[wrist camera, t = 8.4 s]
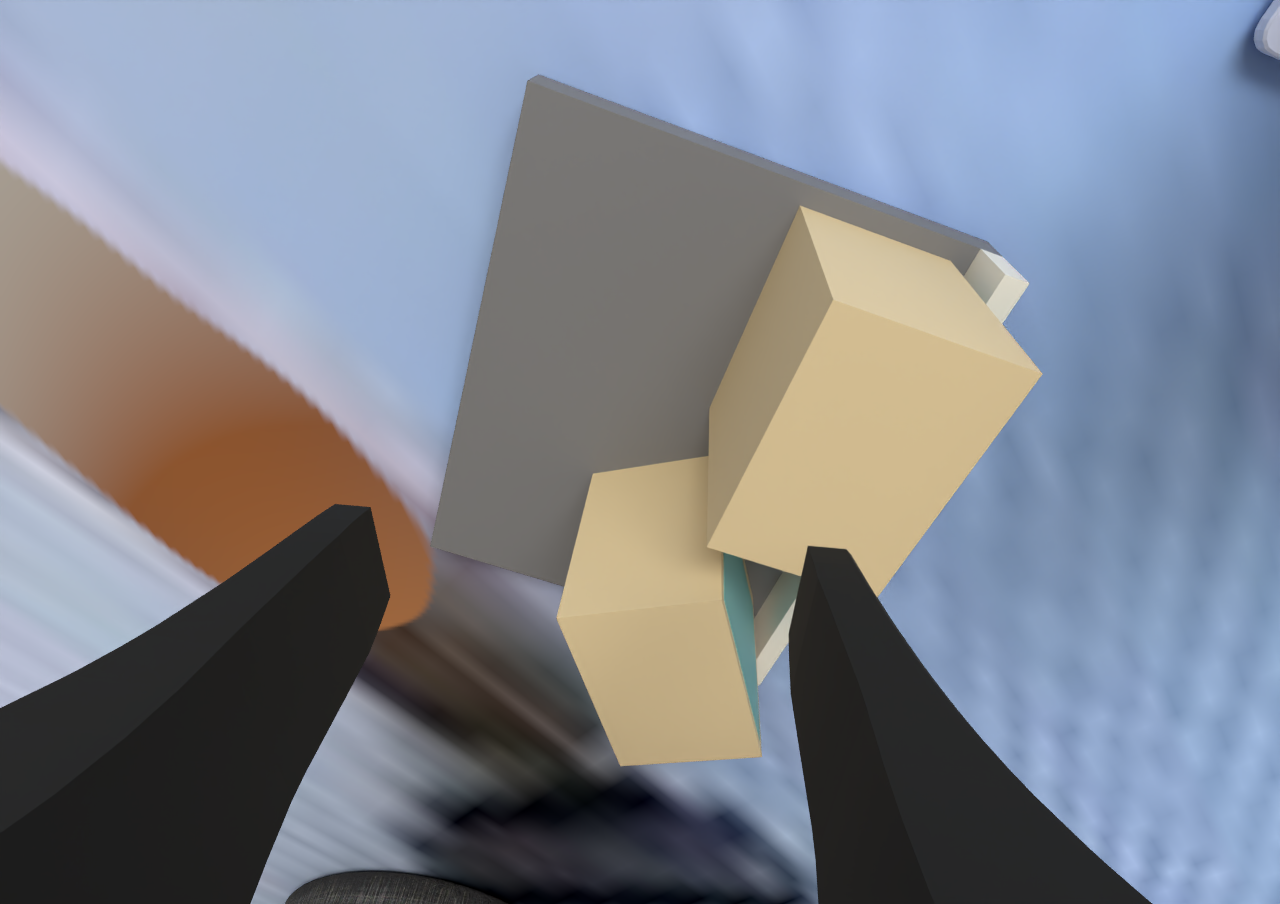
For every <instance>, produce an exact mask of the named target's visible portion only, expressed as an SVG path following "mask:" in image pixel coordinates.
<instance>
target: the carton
mask: <svg viewBox="0 0 1280 904" xmlns="http://www.w3.org/2000/svg"><path fill="white" fill-rule="evenodd" d="M707 507H708V456H705V457H698V458H692V459H685V460H679V461H672V462H666V463H659V464H653V465H646V466H640V467H633V468H627V469H620V470H614V471H607V472H601V473H594V474H593V475H592V479H591V483H590V487H589V491H588V495H587V499H586V503H585V507H584V511H583V515H582V519H581V523H580V526H579V530H578V534H577V538H576V542H575V546H574V550H573V554H572V558H571V562H570V566H569V570H568V574H567V578H566V582H565V586H564V590H563V594H562V598H561V602H560V606H559V610H558V614H557V621H558V623H559V625H560V628H561V630H562V632H563V635H564V637H565V639H566V642H567V644H568V646H569V648H570V651H571V653H572V655H573V658H574V660H575V662H576V665H577V667H578V669H579V672H580V674H581V676H582V679H583V681H584V683H585V685H586V688H587V690H588V692H589V695H590V697H591V699H592V702H593V704H594V706H595V709H596V711H597V713H598V716H599V718H600V720H601V722H602V725H603V727H604V729H605V732H606V734H607V736H608V739H609V741H610V743H611V746H612V748H613V750H614V752H615V755H616V757H617V759H618V762H619V764H620V766H630V765H646V764H661V763H677V762H692V761H708V760H723V759H739V758H754V757H762V752H761V735H760V717H759V699H758V681H757V663H756V645H755V627H754V609H753V596H752V592H751V587H750V583H749V578H748V574H747V569H746V565H745V560H744V559H743V558H740V557H737V556H734V555H731V554H727V553H724V552H721V551H718V550H714V549H711V548H708V547H707Z"/></svg>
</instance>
